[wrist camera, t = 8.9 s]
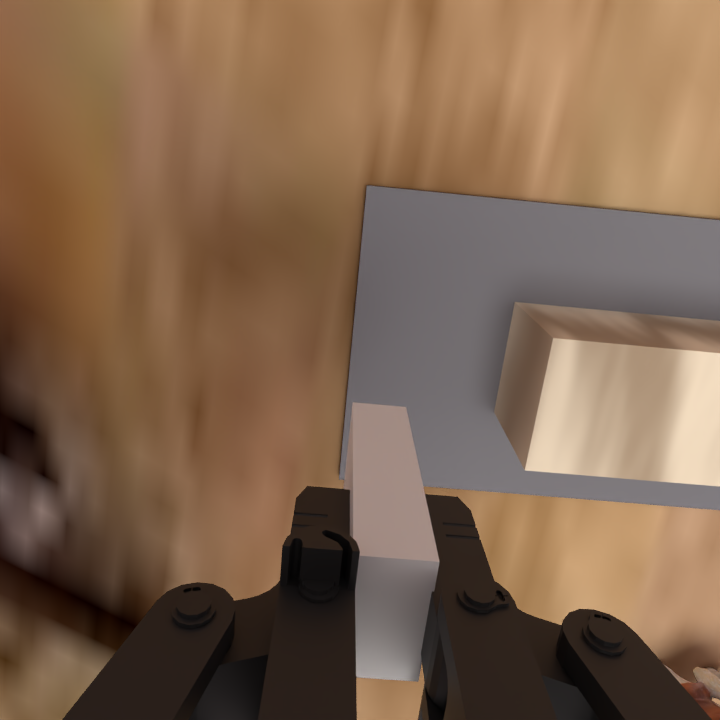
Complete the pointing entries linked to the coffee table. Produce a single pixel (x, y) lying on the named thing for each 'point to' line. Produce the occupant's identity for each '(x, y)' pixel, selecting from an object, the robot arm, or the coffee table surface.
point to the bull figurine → (704, 689)
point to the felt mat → (506, 319)
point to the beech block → (612, 394)
